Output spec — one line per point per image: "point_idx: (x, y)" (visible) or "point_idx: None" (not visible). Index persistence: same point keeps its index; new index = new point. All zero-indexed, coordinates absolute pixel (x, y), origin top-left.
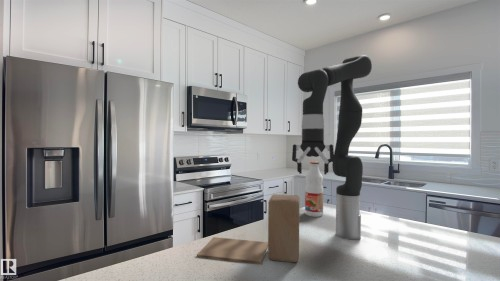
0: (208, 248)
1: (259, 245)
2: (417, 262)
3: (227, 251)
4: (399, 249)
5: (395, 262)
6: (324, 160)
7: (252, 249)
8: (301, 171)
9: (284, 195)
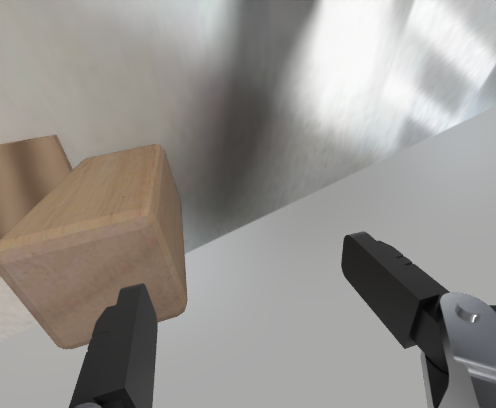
0: None
1: (41, 170)
2: (414, 92)
3: None
4: (411, 17)
5: (372, 112)
6: (437, 389)
7: None
8: (146, 308)
9: (78, 260)
